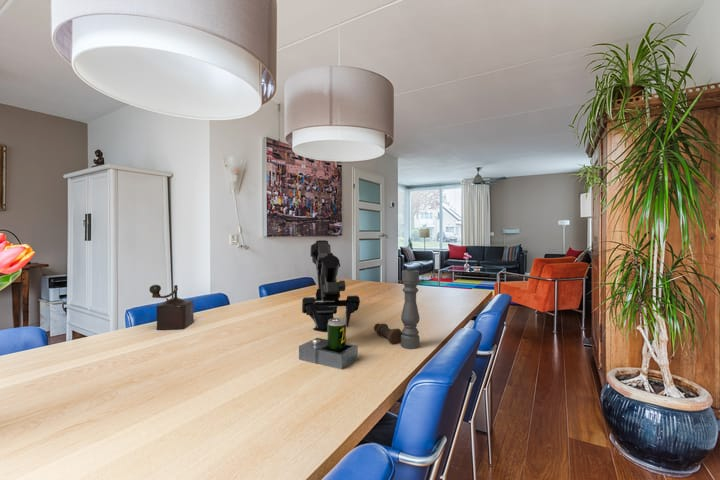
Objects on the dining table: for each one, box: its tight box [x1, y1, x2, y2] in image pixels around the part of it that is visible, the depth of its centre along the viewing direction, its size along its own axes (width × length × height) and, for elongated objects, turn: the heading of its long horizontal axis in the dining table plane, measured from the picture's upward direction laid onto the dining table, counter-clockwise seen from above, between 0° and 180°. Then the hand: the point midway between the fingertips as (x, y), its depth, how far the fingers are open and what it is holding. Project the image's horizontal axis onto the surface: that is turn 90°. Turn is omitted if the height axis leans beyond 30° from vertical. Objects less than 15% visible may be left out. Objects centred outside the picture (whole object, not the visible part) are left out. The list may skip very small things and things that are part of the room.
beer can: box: [327, 317, 347, 353], centre depth 100 cm, size 5×5×12 cm
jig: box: [298, 337, 359, 370], centre depth 102 cm, size 15×9×5 cm, turn 61°
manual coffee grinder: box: [149, 284, 195, 331], centre depth 134 cm, size 16×11×18 cm
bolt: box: [373, 323, 402, 345], centre depth 122 cm, size 6×5×15 cm
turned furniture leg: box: [400, 269, 420, 350], centre depth 113 cm, size 6×6×25 cm
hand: (333, 327), depth 108 cm, fingers open, 9 cm apart
